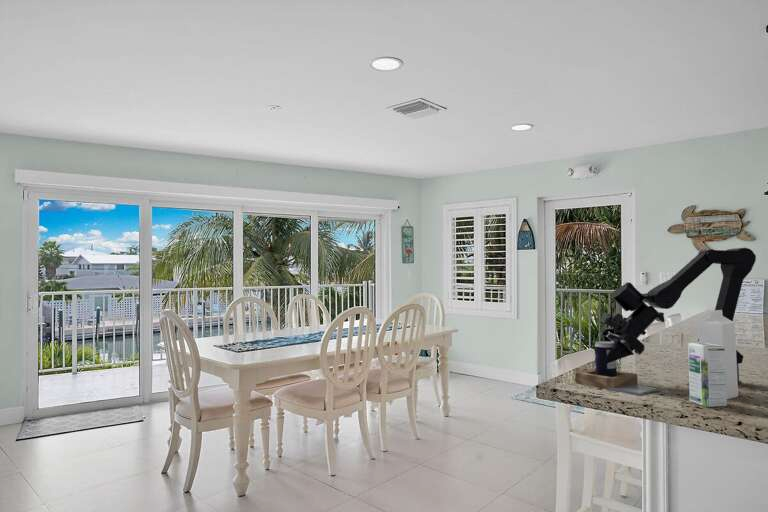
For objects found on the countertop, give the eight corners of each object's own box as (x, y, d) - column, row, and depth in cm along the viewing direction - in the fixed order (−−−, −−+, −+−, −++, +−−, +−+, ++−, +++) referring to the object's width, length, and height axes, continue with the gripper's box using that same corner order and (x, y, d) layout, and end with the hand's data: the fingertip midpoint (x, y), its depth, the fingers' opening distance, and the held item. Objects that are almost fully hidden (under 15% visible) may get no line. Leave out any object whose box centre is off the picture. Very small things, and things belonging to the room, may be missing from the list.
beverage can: (612, 381, 149) (611, 340, 149) (619, 385, 143) (618, 343, 143) (592, 381, 149) (591, 341, 150) (599, 385, 143) (597, 343, 144)
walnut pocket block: (637, 384, 144) (637, 373, 145) (613, 390, 138) (613, 379, 138) (599, 377, 154) (599, 368, 154) (575, 382, 148) (575, 372, 148)
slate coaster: (657, 390, 136) (657, 388, 136) (639, 395, 131) (639, 393, 131) (625, 385, 144) (625, 383, 144) (607, 389, 139) (607, 387, 139)
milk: (738, 396, 128) (735, 310, 129) (725, 400, 125) (722, 311, 126) (713, 392, 134) (710, 309, 135) (700, 395, 131) (697, 310, 132)
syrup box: (688, 401, 124) (686, 342, 125) (711, 400, 125) (708, 342, 125) (705, 407, 119) (702, 345, 119) (728, 406, 119) (725, 345, 120)
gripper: (604, 301, 156) (569, 337, 156) (631, 304, 138) (591, 345, 138) (631, 326, 155) (596, 362, 155) (661, 333, 137) (622, 374, 137)
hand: (600, 360), depth 146 cm, fingers closed on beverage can, 6 cm apart
